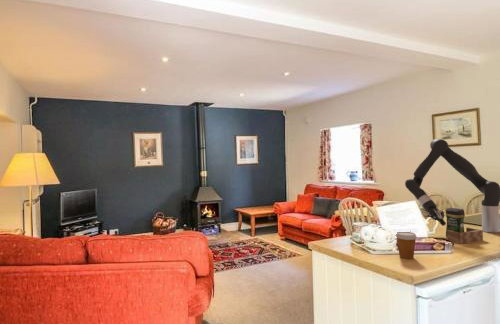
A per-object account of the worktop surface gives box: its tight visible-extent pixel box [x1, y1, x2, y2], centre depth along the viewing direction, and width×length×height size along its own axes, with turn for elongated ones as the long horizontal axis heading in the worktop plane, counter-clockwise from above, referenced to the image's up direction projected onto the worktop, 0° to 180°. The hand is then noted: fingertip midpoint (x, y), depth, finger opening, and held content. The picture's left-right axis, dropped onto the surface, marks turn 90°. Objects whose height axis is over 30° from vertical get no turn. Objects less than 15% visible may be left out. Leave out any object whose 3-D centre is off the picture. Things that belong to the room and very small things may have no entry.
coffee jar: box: [445, 207, 465, 238], centre depth 197 cm, size 10×8×19 cm
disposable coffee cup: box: [395, 231, 418, 260], centre depth 162 cm, size 10×10×12 cm
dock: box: [446, 227, 484, 245], centre depth 192 cm, size 19×9×6 cm, turn 112°
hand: (444, 224), depth 204 cm, fingers closed
